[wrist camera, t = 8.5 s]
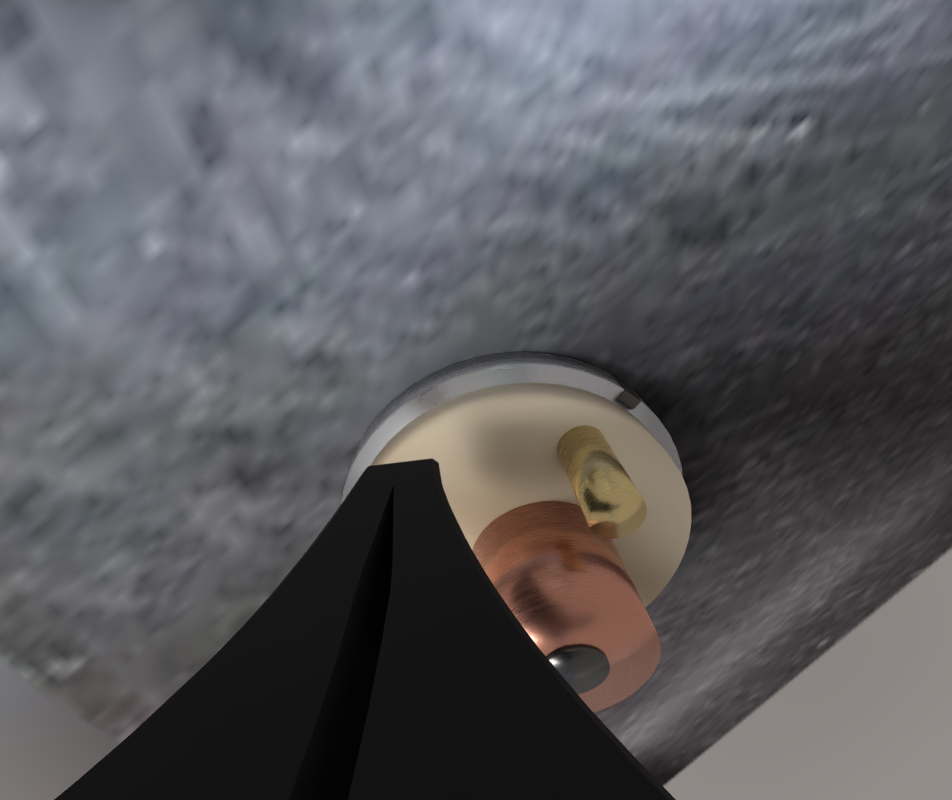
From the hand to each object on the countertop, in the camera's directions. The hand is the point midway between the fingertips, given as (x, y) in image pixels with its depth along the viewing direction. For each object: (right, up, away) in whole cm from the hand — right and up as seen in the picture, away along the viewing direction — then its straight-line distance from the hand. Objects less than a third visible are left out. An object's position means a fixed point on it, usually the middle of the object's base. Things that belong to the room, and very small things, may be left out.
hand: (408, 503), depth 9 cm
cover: (+3, -2, +4) cm, 6 cm away
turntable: (+3, -2, +5) cm, 6 cm away
